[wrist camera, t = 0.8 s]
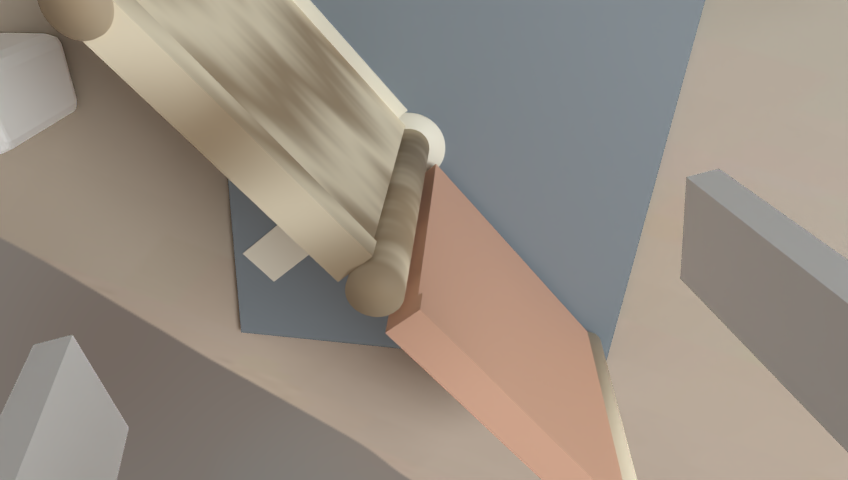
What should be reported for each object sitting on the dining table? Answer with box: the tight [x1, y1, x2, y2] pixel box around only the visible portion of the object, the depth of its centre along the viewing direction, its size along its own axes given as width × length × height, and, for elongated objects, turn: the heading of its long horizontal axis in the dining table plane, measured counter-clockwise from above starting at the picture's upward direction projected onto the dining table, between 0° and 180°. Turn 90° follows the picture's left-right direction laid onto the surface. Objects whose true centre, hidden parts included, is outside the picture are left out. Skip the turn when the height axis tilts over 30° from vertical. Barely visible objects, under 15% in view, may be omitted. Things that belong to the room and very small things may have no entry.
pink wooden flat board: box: [385, 164, 637, 480], centre depth 30 cm, size 15×2×13 cm, turn 41°
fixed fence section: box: [38, 0, 429, 317], centre depth 25 cm, size 14×2×13 cm, turn 41°
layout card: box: [228, 0, 705, 360], centre depth 34 cm, size 23×22×1 cm
